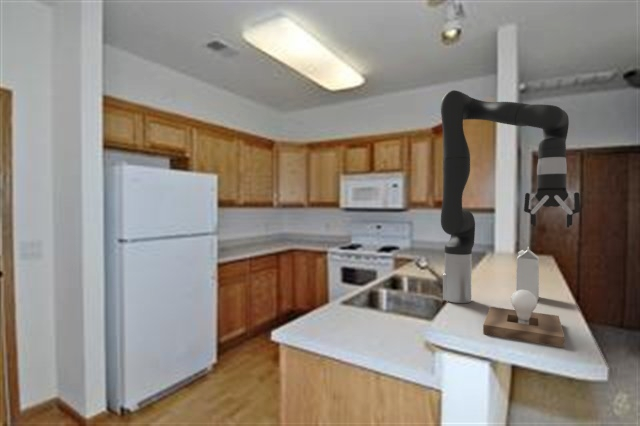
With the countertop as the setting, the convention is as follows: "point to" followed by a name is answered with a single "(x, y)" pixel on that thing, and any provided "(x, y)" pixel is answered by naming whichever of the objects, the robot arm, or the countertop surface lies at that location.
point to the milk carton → (528, 272)
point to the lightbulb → (523, 305)
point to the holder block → (524, 327)
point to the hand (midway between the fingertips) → (550, 226)
